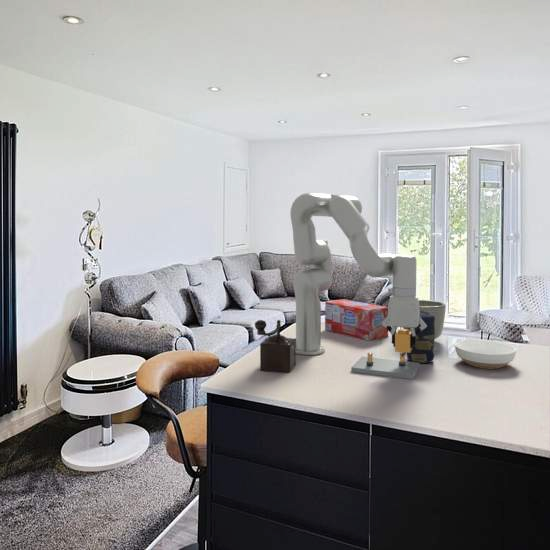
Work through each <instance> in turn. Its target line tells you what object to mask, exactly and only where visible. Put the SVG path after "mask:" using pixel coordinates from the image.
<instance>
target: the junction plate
mask: <svg viewBox="0 0 550 550" xmlns="http://www.w3.org/2000/svg"><path fill="white" fill-rule="evenodd" d="M367 361H368V356H363V355H362V356H361V357H360V358H359V359H358V360H357V361H355V363H354V364H353V365H352V366H351V368H350V369H351V370H350V372H352V373H359V374H366V375H367V374H368V375H374V376H383V377H388V378H389V377H390V378H398V379H399V378H400V379H404V380H405V379H406V380H414V379H415V377H416V375H417V373H418V371H419V369H420V366H421V365H420V364H421V363H418V362H413V361H406V360H405V362H406V366H399V362H400V360H397V359H388V358H380V357H372V362H373V366H368V365H367Z"/></svg>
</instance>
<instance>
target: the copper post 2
mask: <svg viewBox="0 0 550 550" xmlns="http://www.w3.org/2000/svg"><path fill="white" fill-rule="evenodd" d="M399 361H400V362H399V366H406V362H405V361H406V352H399Z"/></svg>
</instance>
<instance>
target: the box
mask: <svg viewBox="0 0 550 550" xmlns="http://www.w3.org/2000/svg"><path fill="white" fill-rule="evenodd" d="M324 306H325V307H324V309H325V312H324V313H325V314H324V330H325V331H328V332H332V333H336V334H340V335H343V336H348V337H351V338H354V339H359V340H363V341H367V342H370V341H375V340H379V339H383V338H388V337H389V331H388V330H387V328H385V327H384V326H383V325H382V322H383V321H384V320H385V318H386V317H387V316H388V306H384V305H378V304H372V303H366V302H362V301H356V300H355V301H354V300H352V299H351V300H350V299H347V298H346V299H345V298H343V299H341V298H340V299H335V300H328V301H325V305H324Z"/></svg>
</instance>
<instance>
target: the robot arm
mask: <svg viewBox="0 0 550 550" xmlns="http://www.w3.org/2000/svg"><path fill="white" fill-rule="evenodd" d="M362 212H363V206H362V202H361V201H360V200H359V199H358V198H357V197H355V196H354V195H353V196H352V195H342V194H341V195H338V194H328V193H319V192H308V193H307V192H306V193H303V194H300V195H299V196H297V197H296V198H295V199H294V201H293V202H292V204H291V207H290V214H289V215H290V221H291V227H292V237H293V239H292V240H293V251H294V258H295V259H294V260H295V261H296V263H298V265H300V266H310V268H307V269H302V270H301V271H300V270H299V272H297V273H296V274H295V276H294V278H293V281H292V282H293V285H292V286H293V289H294V290H293V291H294V297H295V298H294V299H295V338H294V339H296V355H304V356H315V355H316V356H317V355H320V354H321V355H322V354H324V352H325V351H326V350H325V349H326V348H325V347H324V346H322V345H321V340H322V339H321V338H322V337H321V335H322V334H321V333H322V329H321V328H322V325H321V324H322V322H321V321H322V317H321V316H322V307H321V306H322V305H321V299H320V297H319V293H322V292H325V291H328V290H329V289H330V288H331V286H332V285H333V279H334V277H333V265H332V255H331V253H332V252H331V249H330V247H329V245H328V244H327V243H326V242H325V241H324V240H321V239H317V235H316V227H315V224H314V222H313V220H312V217H327V218H332V219H333V220H334V222H335V223H336V224H337V225H338V227H339V228H340V229H341V231H342V232H343V234H344V235H345V237H346V238H347V239H348V241H349V247H350V251H351V254H352V257H353V258H354V260H355V261H356V263H357V264H358V265H359V266H360V268H361V269H362V270H363V272H364V273H365V274H366V275H367V276H369V277H371V278H381V277H387V276H392V286H391V287H388V288H387V292H388V293H390V294H391V295H390V296H389V300H388V306H387V307H388V316H387V317H386V318H385V320H384V321H383V322H382V325H383V326H384V327H385V328H387V330H388V333H390V334H391V344H393V345H392V346H393V347H394V348H395V333H396V332H397V329H398V328H403V327H405V328H410V330H411V333H412V334H411V336H410V348H413V347H414V345H415V344H416V335H417V334H418V333H419V332H420V331H422V330H423V329H425V328H426V327H427V325H426V324H425V322H424V321H423V320H422V319H421V317H420V307H419V300H420V299H419V297H418V296H417V257H416V256H415V255H412V254H392V253H379V254H378V253H377V252H376V250H375V249H374V248H373V246H372V245H371V243H370V241H369V239H368V233H369V231H370V224H369V223H368V222H367V221H366V219H365V218H364V216H363V215H362ZM419 324H420V325H421V326H420V327H419V328H417V329H416V327H418V325H419Z"/></svg>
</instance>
